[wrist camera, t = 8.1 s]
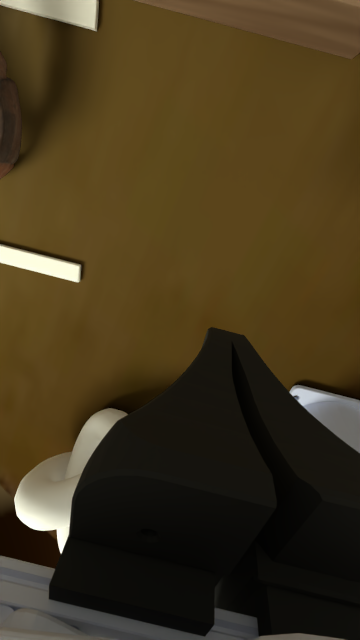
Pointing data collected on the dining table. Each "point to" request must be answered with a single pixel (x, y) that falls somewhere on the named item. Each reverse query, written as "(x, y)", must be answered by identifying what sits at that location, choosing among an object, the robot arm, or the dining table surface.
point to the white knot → (61, 479)
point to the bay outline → (81, 10)
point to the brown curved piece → (9, 121)
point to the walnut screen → (283, 20)
